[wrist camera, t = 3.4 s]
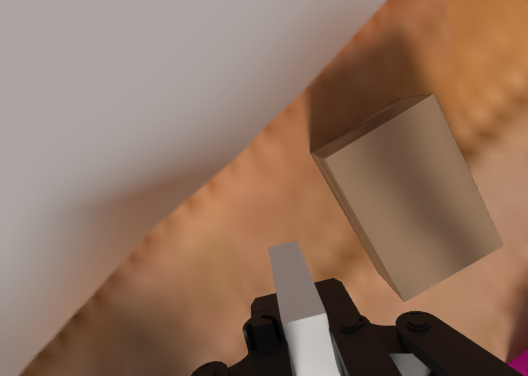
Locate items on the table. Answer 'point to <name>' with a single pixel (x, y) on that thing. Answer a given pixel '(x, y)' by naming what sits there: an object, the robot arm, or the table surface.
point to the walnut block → (409, 195)
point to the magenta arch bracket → (521, 363)
